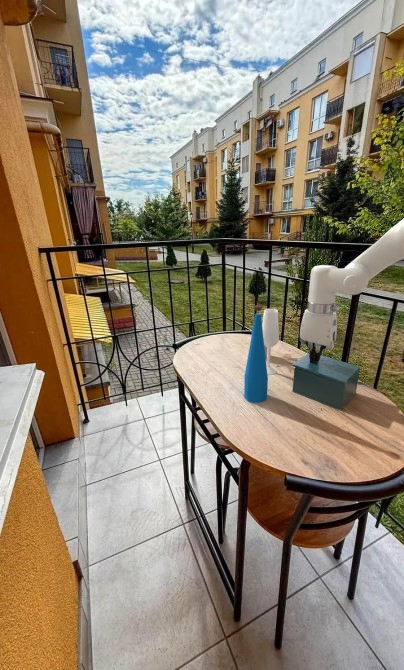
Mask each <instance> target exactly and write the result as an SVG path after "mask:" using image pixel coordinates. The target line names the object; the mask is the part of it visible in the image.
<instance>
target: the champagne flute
mask: <svg viewBox="0 0 404 670" xmlns="http://www.w3.org/2000/svg"><path fill="white" fill-rule="evenodd" d="M262 322H263V323H262V329H263V338H264V345H265V346H266V347H267V348H268V349H267V357H266V365H267V375H268V376H272V375H275V374H277V373H278V371H277V368H274V367H273V366H271V352H272V348H273V347H275V346H276V345H277V344H279V341H280V330H279V325H278V324H279V310H278V309H276V308H265V309H264V310H263V316H262Z"/></svg>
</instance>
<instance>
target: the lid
mask: <svg viewBox="0 0 404 670" xmlns="http://www.w3.org/2000/svg"><path fill="white" fill-rule="evenodd" d="M309 353H310V352H308V353H307V354H306V355H304V356H302V357H301V358H299V359H298V360H296V361H295V362H293V363H292V365H291V367H293V368H295V367H296V368H299V369H302V370H305V371H307V372H310V373H313V374H316V375H319V376H322V377H325V378H328V379H331V380H333V381H336V382H339V383H342V384H346V383H347V382H348V381H349V380H350V379H351V378H352V377H353V376H354V375H355V374H356V373H357V372H358V371H359V370H360V371H361V366H360V365H356V364H352V363H348V362H345V361H342V360H339V359H335V358H332V357H329V356H326V355H322V354H321V355H320V360H319V361H318V362H316V363H315V364H314V363H310V359H309Z"/></svg>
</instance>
